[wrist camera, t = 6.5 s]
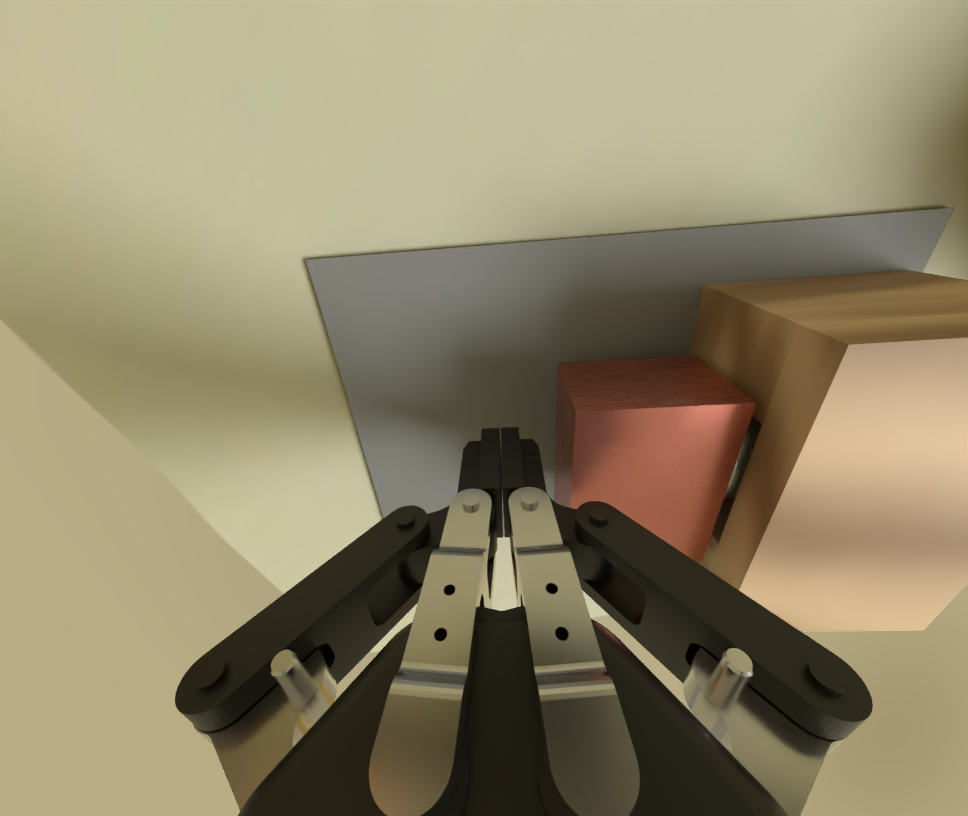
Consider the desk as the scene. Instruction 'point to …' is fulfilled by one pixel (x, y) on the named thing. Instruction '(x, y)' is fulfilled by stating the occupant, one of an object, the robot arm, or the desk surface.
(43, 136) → the desk surface
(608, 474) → the pin
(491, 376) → the mat
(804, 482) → the wooden block
